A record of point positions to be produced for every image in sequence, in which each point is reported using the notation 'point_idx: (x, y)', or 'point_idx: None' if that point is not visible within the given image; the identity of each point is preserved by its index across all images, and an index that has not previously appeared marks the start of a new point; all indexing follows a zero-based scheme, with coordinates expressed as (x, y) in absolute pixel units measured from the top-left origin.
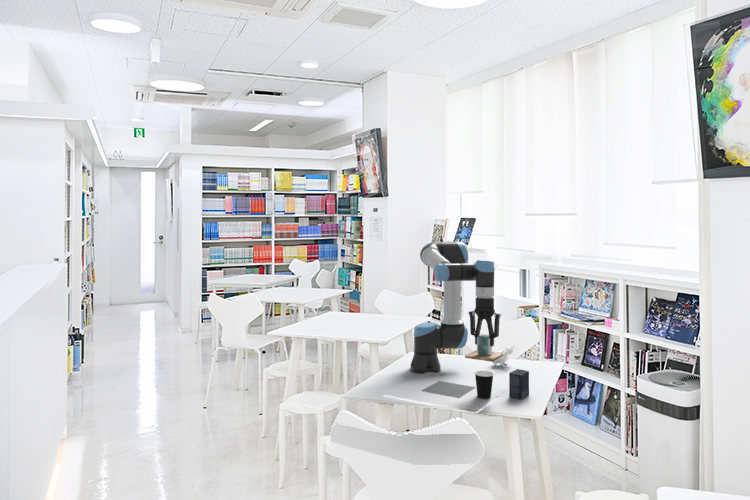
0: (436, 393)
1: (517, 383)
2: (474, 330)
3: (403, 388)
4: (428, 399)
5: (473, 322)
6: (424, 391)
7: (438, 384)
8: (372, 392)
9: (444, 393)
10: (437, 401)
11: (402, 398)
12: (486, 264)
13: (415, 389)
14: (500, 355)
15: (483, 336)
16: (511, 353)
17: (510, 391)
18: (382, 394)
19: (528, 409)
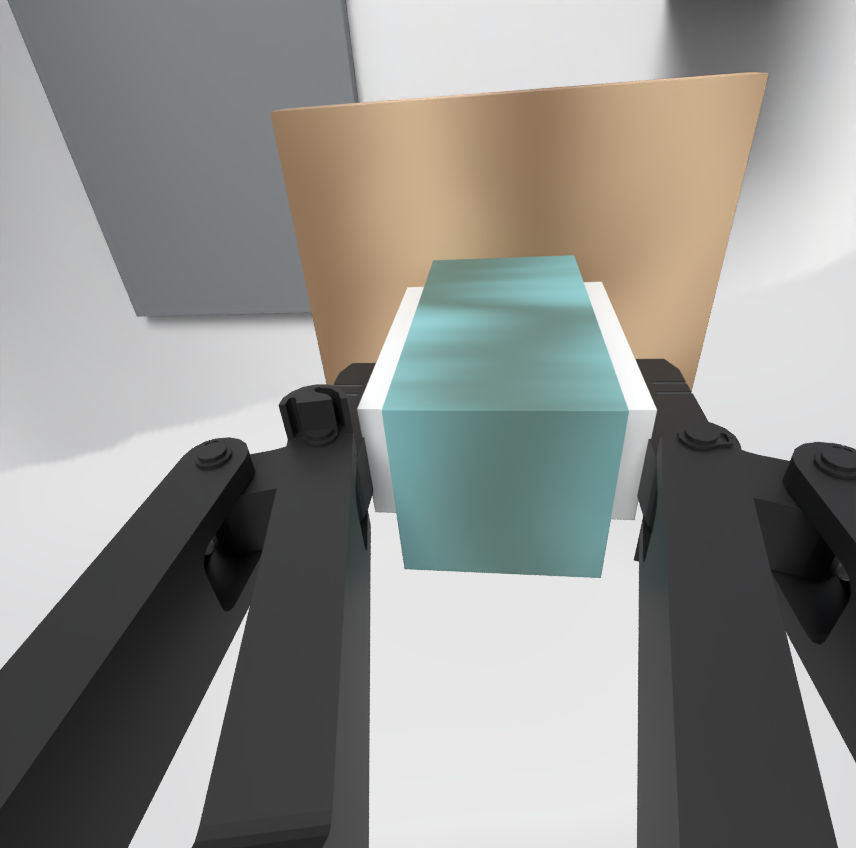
0: (231, 309)
1: None
2: (213, 519)
3: (16, 290)
4: (251, 378)
5: (125, 802)
6: (159, 315)
7: (89, 112)
8: (4, 427)
9: (264, 282)
10: (305, 381)
11: (159, 427)
12: None
13: (69, 266)
14: (730, 224)
15: (518, 572)
16: None
17: None
18: (56, 427)
19: (842, 214)
